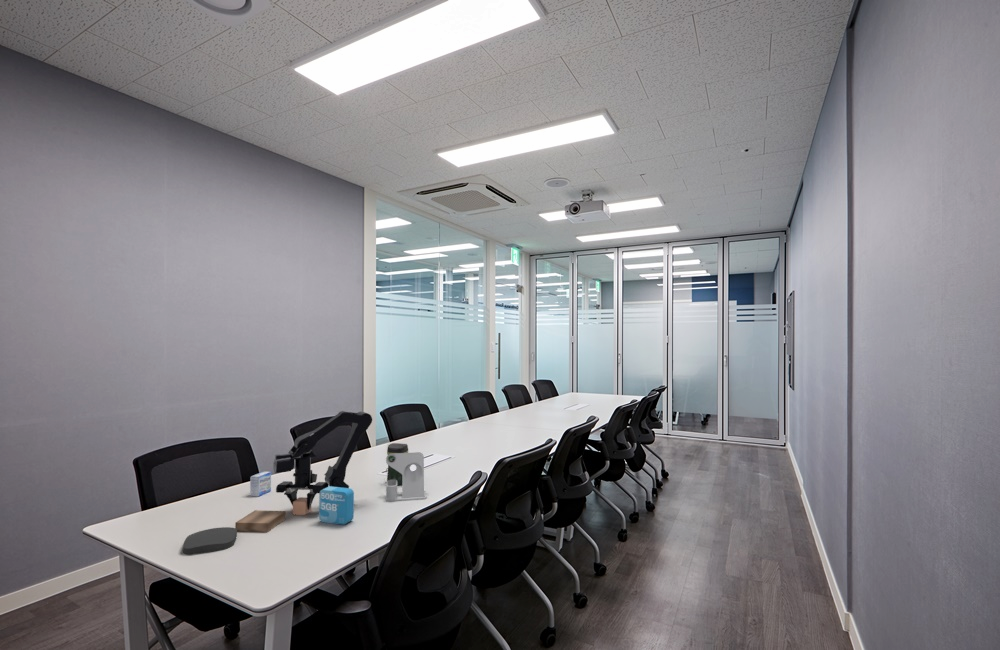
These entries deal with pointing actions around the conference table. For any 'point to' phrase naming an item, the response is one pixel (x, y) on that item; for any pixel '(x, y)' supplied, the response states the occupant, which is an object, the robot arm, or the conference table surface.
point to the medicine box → (260, 484)
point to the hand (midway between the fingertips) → (302, 509)
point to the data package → (336, 505)
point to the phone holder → (407, 477)
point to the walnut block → (260, 521)
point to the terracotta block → (300, 506)
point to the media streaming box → (210, 540)
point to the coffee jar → (394, 449)
